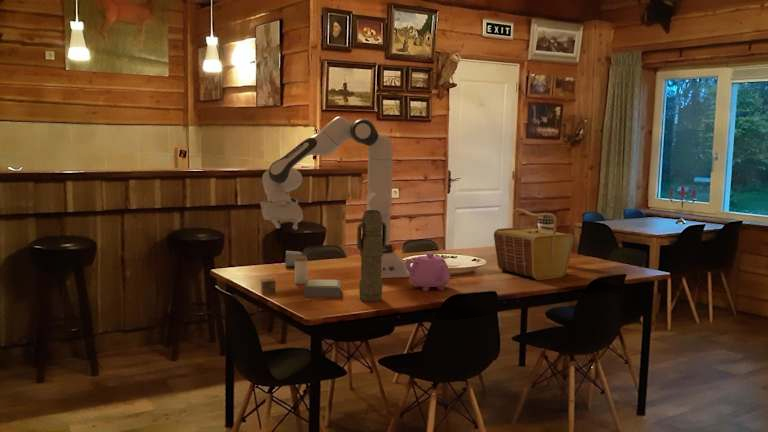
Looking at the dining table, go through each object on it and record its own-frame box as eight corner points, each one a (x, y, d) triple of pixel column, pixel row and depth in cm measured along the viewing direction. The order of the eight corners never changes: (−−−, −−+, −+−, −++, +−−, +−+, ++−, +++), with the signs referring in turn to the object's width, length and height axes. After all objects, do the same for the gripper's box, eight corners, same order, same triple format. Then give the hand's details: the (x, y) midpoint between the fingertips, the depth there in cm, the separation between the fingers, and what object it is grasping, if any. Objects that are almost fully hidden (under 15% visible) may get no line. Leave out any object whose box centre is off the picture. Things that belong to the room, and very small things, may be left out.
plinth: (340, 289, 299) (340, 279, 298) (339, 297, 285) (339, 286, 285) (306, 289, 298) (306, 279, 298) (304, 297, 284) (304, 286, 284)
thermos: (351, 299, 283) (353, 210, 279) (376, 295, 290) (378, 208, 286) (363, 303, 276) (365, 212, 272) (389, 300, 282) (391, 211, 278)
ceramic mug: (303, 267, 344) (303, 252, 344) (285, 268, 343) (285, 252, 342) (301, 264, 355) (301, 248, 354) (284, 264, 353) (284, 248, 352)
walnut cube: (273, 290, 296) (273, 278, 295) (275, 293, 291) (275, 281, 290) (261, 291, 294) (261, 279, 293) (263, 293, 289) (263, 281, 289)
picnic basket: (574, 277, 335) (577, 213, 331) (532, 282, 322) (535, 215, 318) (530, 266, 360) (533, 206, 356) (490, 271, 346) (492, 208, 343)
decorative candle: (557, 263, 369) (559, 215, 366) (544, 265, 364) (546, 216, 361) (543, 260, 377) (545, 213, 374) (531, 262, 371) (533, 214, 368)
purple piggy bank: (417, 295, 291) (418, 259, 289) (397, 285, 309) (397, 251, 307) (460, 292, 299) (461, 256, 297) (437, 282, 317) (438, 248, 315)
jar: (307, 281, 314) (307, 256, 312) (306, 284, 308) (306, 258, 307) (294, 281, 313) (295, 256, 312) (294, 284, 308) (294, 258, 307)
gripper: (263, 196, 316) (271, 222, 310) (300, 200, 330) (309, 225, 324) (255, 204, 320) (263, 230, 314) (292, 207, 334) (301, 233, 328)
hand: (287, 228), depth 319 cm, fingers open, 8 cm apart
